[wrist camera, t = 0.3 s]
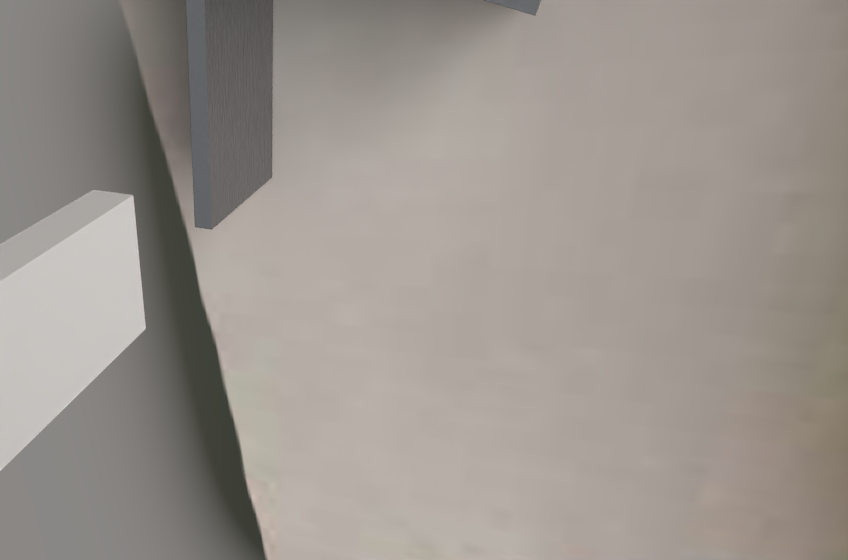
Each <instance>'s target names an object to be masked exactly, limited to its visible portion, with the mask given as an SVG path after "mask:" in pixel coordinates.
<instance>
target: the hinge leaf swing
mask: <svg viewBox="0 0 848 560" xmlns="http://www.w3.org/2000/svg"><path fill="white" fill-rule="evenodd" d="M485 1H488V2H492V3H495V4H498V5H501V6H505V7H508V8H511V9H515V10H518V11H521V12H524V13H528V14H531V15H534V16H535V15H536V13H537V10H538V7H539V5H540V2H541V0H485Z"/></svg>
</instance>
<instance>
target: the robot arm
mask: <svg viewBox="0 0 848 560" xmlns="http://www.w3.org/2000/svg"><path fill="white" fill-rule="evenodd" d="M145 329H146V327H145V317H144V306H143V295H142V285H141V274H140V263H139V252H138V241H137V232H136V220H135V209H134V198H133V195H128V194H121V193H114V192H106V191H98V190H92V191H91V192H89V193H87V194H85V195H84V196H82V197H80V198H79V199H77V200H75V201H74V202H72V203H70V204H68V205H67V206H65V207H63V208H61V209H60V210H58V211H56V212H54V213H53V214H51V215H49V216H48V217H46V218H44V219H42V220H41V221H39V222H37V223H36V224H34V225H32V226H31V227H29V228H27V229H25V230H24V231H22V232H20V233H18V234H17V235H15V236H13V237H12V238H10V239H8V240H6V241H5V242H3V243H1V244H0V471H1V470H2V469H3V468H4V467H5V466H6V465H7V464H8V463H9V462H10V461H11V460H12V459H13V458H14V457H15V456H16V455H17V454H18V453H19V452H20V451H21V450H22V449H23V448H24V447H25V446H26V445H27V444H28V443H29V442H30V441H31V440H32V439H33V438H34V437H36V436H37V434H38V433H40V432H41V431H42V430H43V429H44V428H45V427H46V426H47V425H48V424H49V423H50V422H51V421H52V420H53V419H54V418H55V417H56V416H57V415H58V414H59V413H60V412H61V411H62V410H63V409H64V408H65V407H66V406H67V405H68V404H69V403H70V402H71V401H72V400H73V399H74V398H75V397H76V396H77V395H78V394H79V393H80V392H81V391H83V390H84V389H85V388H86V387H87V386H88V385H89V384H90V383H91V381H93V380H94V378H96V377H97V376H98V375H99V374H100V373H101V372H102V371H103V370H104V369H105V368H106V367H107V366H108V365H109V364H110V363H111V362H112V361H113V360H114V359H115V358H116V357H117V356H118V355H119V354H120V353H121V352H122V351H123V350H124V349H125V348H126V347H128V346H129V345H130V343H131V342H132V341H133V340H135V339H136V338H137V337H138V336H139V335H140V334H141V333H142V332H143V331H144V330H145Z"/></svg>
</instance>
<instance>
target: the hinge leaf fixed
mask: <svg viewBox="0 0 848 560" xmlns="http://www.w3.org/2000/svg"><path fill="white" fill-rule="evenodd" d="M186 20H187V44H188V69H189V93H190V118H191V142H192V167H193V191H194V216H195V227H198V228H205V229H211V230H212V229H213V228H214V227H215V226H216V225H218V224H219V223H220V222H221V221H222V220H223V219H224V218H226V217H227V216H228V215H229V214H230V213H231V212H232V211H234V210H235V209H236V208H237V207H238V206H239V205H241V204H242V203H243V202H244V201H245V200H246V199H247V198H249V197H250V196H251V195H252V194H253V193H254V192H256V191H257V190H258V189H259V188H260V187H261V186H262V185H264V184H265V183H266V182H267V181H268V180H269V179H271V178H272V33H273V0H186Z"/></svg>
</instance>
